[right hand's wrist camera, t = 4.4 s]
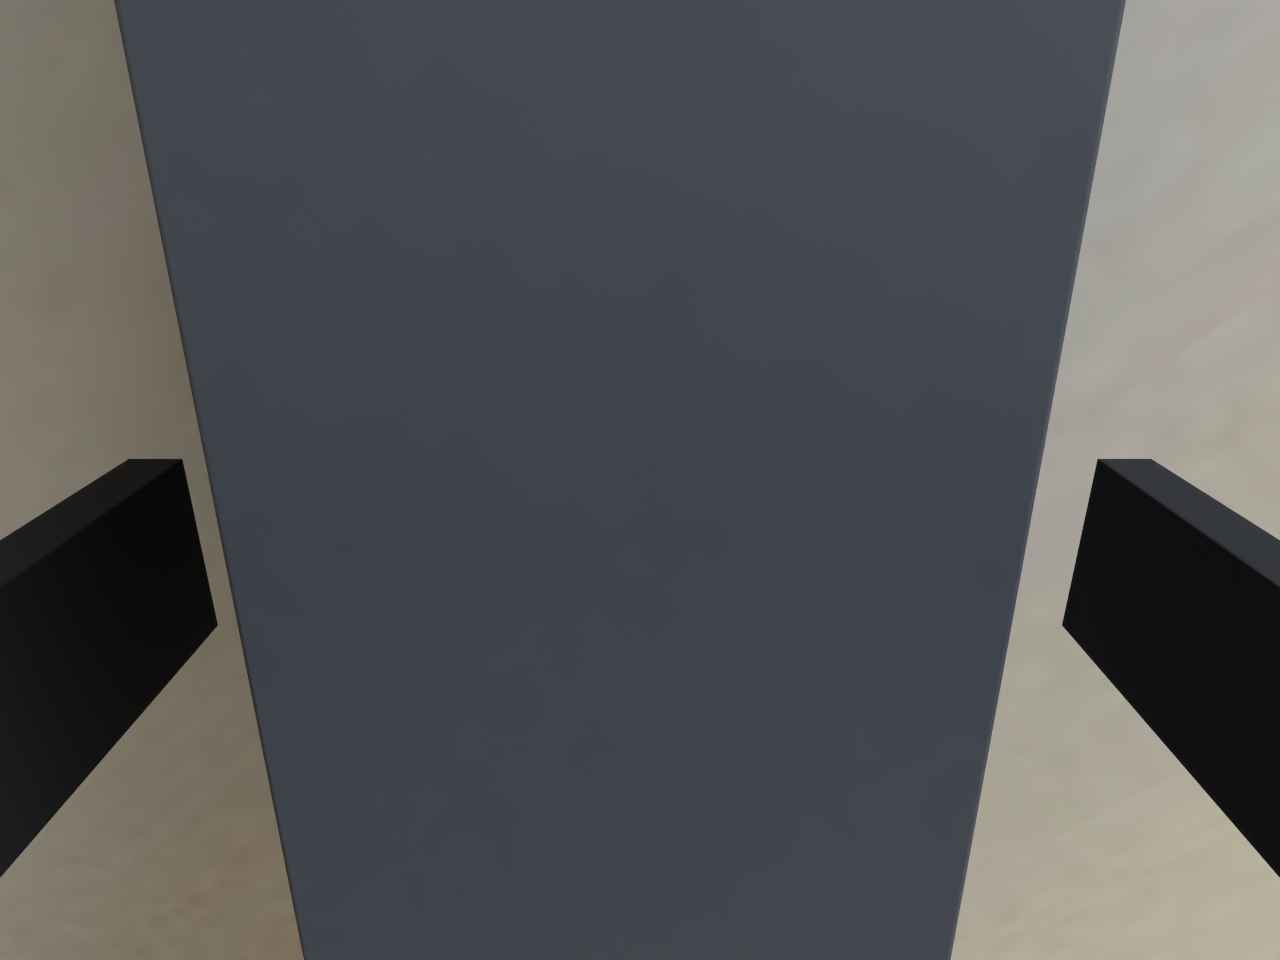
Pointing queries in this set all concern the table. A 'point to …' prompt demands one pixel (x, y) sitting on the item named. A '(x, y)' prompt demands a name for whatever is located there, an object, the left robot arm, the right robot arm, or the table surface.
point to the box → (623, 444)
